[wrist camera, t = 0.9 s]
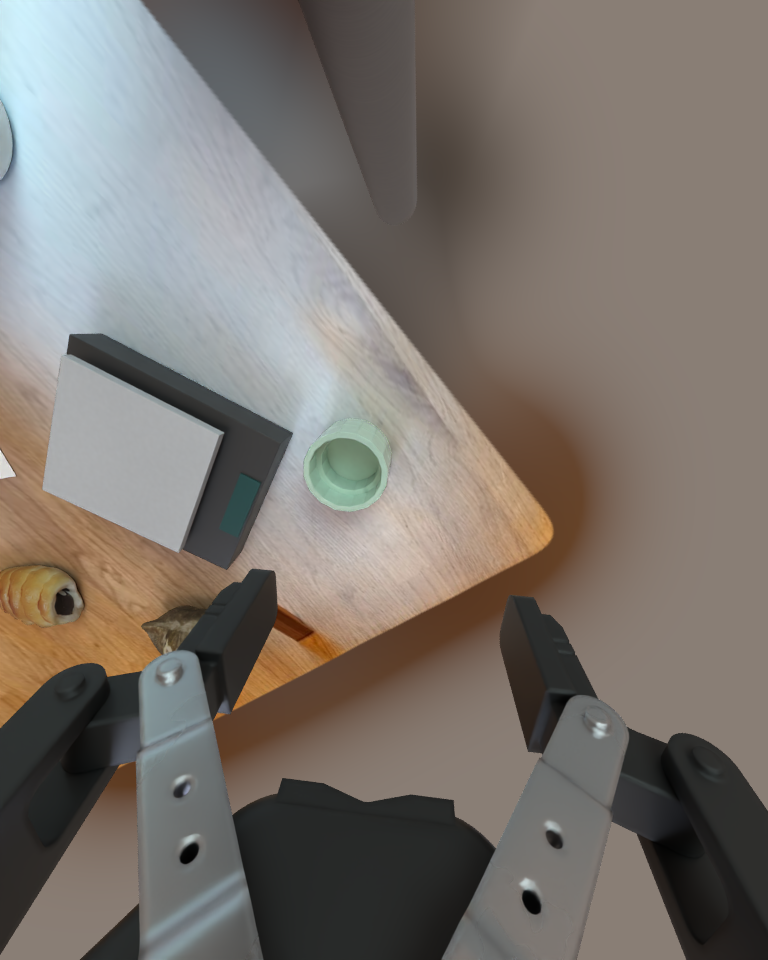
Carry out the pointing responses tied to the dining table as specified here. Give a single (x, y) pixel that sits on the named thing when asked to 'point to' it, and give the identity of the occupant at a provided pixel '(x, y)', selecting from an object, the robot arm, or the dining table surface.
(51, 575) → the pastry
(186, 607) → the fossilized seashell
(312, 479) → the cup
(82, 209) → the dining table surface
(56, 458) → the scale
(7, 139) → the milk bottle
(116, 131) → the dining table surface
